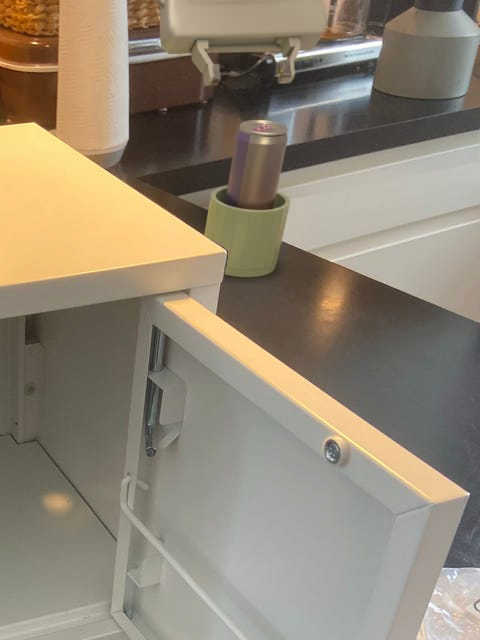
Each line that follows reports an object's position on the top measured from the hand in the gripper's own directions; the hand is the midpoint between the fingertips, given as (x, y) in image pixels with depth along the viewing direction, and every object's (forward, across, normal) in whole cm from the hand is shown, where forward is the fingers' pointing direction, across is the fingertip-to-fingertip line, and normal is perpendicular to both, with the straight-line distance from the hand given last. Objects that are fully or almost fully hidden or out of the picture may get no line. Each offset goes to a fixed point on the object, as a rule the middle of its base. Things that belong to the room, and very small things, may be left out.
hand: (250, 81), depth 114 cm
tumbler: (+18, 0, +9) cm, 20 cm away
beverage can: (+18, 0, +8) cm, 20 cm away
